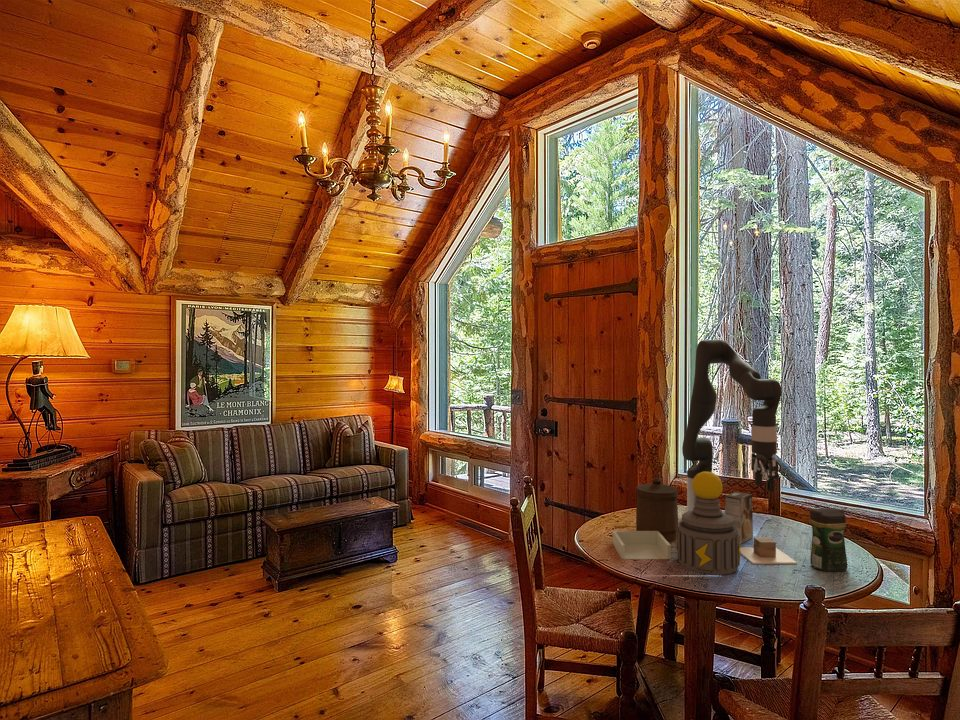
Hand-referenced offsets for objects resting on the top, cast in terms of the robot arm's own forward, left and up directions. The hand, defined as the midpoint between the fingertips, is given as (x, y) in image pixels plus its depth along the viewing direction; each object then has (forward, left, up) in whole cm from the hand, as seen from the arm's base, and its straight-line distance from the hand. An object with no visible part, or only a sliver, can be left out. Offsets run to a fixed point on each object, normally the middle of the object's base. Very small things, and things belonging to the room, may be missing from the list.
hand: (764, 487), depth 187 cm
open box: (-3, -40, -23) cm, 46 cm away
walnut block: (0, 0, -22) cm, 22 cm away
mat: (0, 0, -23) cm, 23 cm away
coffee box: (-18, -1, -23) cm, 29 cm away
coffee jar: (+10, +15, -23) cm, 29 cm away
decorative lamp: (+8, -21, -23) cm, 33 cm away
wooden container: (-20, -30, -23) cm, 43 cm away
